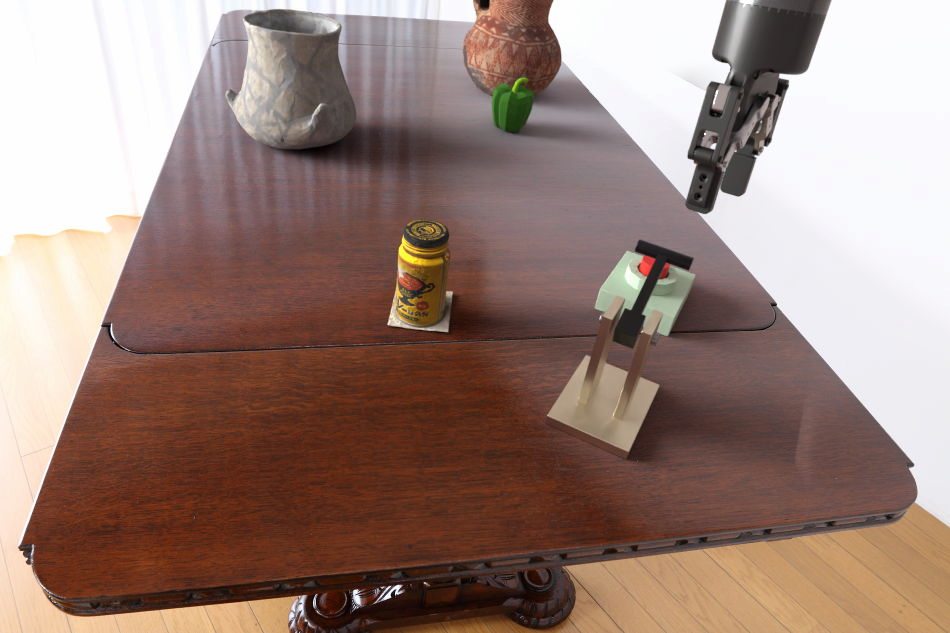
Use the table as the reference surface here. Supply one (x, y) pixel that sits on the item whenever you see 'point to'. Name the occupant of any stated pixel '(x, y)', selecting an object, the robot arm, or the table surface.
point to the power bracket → (608, 390)
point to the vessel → (293, 81)
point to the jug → (512, 45)
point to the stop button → (647, 265)
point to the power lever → (646, 291)
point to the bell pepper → (512, 105)
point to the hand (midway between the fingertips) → (715, 201)
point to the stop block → (663, 299)
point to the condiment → (422, 278)
